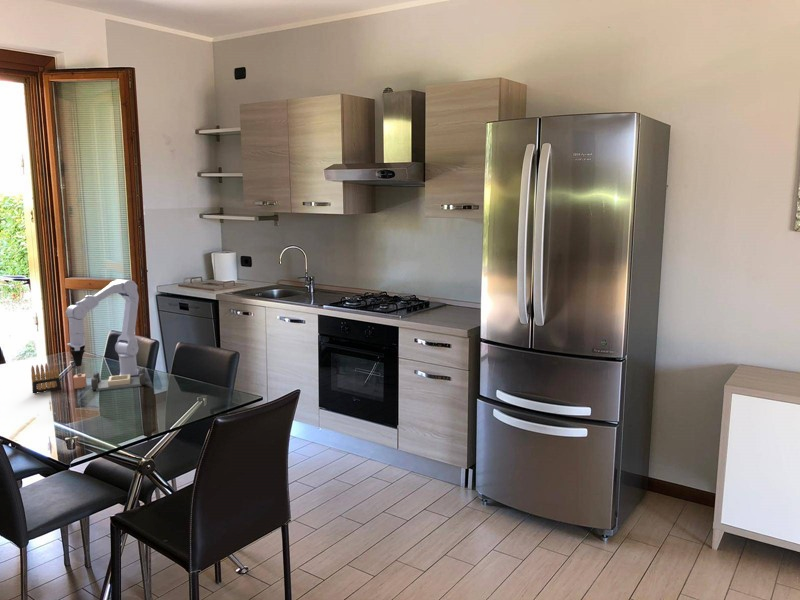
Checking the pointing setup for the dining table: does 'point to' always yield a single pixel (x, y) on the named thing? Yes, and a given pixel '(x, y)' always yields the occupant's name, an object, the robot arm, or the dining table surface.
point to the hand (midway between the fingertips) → (78, 364)
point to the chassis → (118, 381)
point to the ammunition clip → (48, 381)
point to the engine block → (79, 381)
